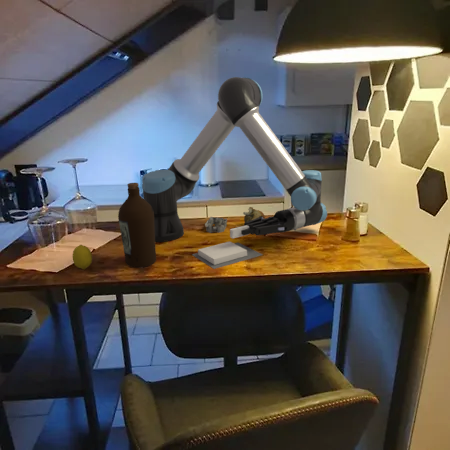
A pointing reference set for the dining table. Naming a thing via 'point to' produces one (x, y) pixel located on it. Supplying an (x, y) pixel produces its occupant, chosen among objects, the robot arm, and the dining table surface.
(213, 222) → the egg carton
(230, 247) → the tile
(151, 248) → the olive oil
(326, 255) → the dining table surface
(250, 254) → the mat
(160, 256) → the dining table surface
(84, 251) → the lemon
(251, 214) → the onion
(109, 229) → the dining table surface
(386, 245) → the dining table surface
